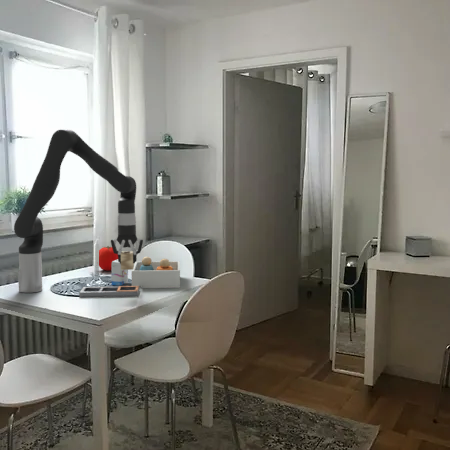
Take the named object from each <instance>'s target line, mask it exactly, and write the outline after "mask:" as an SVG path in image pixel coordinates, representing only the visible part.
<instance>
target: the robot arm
mask: <svg viewBox="0 0 450 450" xmlns="http://www.w3.org/2000/svg"><path fill="white" fill-rule="evenodd" d="M68 152H70V153H72V154H74V155H75V156H78V157H80V158H81V160H83V161H84V162H85V164H87V166H88V167H89V168H90V169H91V170H92V171H93V172H94V173H96V174H97V175H98V176H99V177H101V178H102V179H103V180H105V181H106V182H108V183H109V185H111V187H113V188H114V189H115V190H116V191H117V192H119V193H120V196H119V197H120V198H119V199H118V202H117V237H116V238H115V239H111V240H110V244H111V245H110V246H111V247H112V248H113V252H114V253H115V254H118V262H120V264H121V252H122V251H123V249H124V248H130V249H131V251H133V263H134V264H135V262H137V260H138V259H137V258H138V257H137V255H138V254H141V251H142V248H143V243H144V239H143V238H138V237H137V226H136V225H137V220H136V219H137V217H136V210H135V209H136V204H135V202H136V201H135V200H136V197H137V196H136V194H137V183H136V182H137V181H136V180H135V178H133V177H132V176H129V175H128V176H127V175H125V174H123V173H122V172H120V171H119V169H118V168H117V167H116V166H115V165H114V164H113V163H111V162H110V161H108V160H107V159H106V158H105V157H103V156H102V155H101V154H99V153H98V152H96V151H95V150H94V149H93V148H92V147H90V145H89V144H87V142H85V141H84V140H83V138H81V136H79V134H77V132H75V131H74V130H72V129H67V128H65V129H64V128H63V129H61V128H60V129H58V130H56V131H54V133H53V134H52V135H51V139H50V141H49V144H48V147H47V151H46V155H45V157H44V160H43V162H42V164H41V166H40V168H39V170H38V173H37V175H36V178H35V180H34V182H33V185H32V187H31V189H30V192H29V194H28V196H27V198H26V201H25V203H24V205H23V207H22V209H21V211H20V213H19V214H18V216H17V218H16V220H15V221H14V225H13V231H14V234H15V235H16V236H17V237H18V238H19V239H20V238H21V239H24V240H23V242H22V243H21V244H20V245H19V246H18V264H19V265H18V266H19V270H18V271H17V272H18V273H17V278H18V279H17V280H18V293H26V294H30V293H37V292H41V291H43V271H42V270H43V266H42V263H43V262H42V247H43V244H44V226H43V225H44V224H43V222H42V220H41V218H40V217H38V216H39V213H40V211H42V209H43V208H44V207H45V206H46V205H47V204H48V203H49V202H50V200H51V199H52V198H53V197H54V195H55V193H56V191H57V188H58V186H59V184H60V180H61V168H62V167H61V166H62V163H63V161H64V159H65V157H66V155H67V153H68ZM117 242H118V244H119V245H120V246H119V248H118V250H117V246H116V244H117ZM136 243H137V244H138V249H136V247H135V244H136Z"/></svg>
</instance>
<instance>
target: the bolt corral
mask: <svg viewBox="0 0 450 450" xmlns="http://www.w3.org/2000/svg"><path fill="white" fill-rule="evenodd" d="M169 262H170V265H169V266H171V267H172V268H173V270H156V269H157V267H159V266H160V261H152V262H151V264H150V265H152V266H153V269H154V270H145V271H140V267H141V265H143V264H142V261H136V262H135V263H134V268H133V270H131V286H139V287H141V289H165V288H166V289H171V288H174V289H175V288H177V289H178V288H179V289H180V288H181V263H180V262H181V261H179V260H177V261H176V260H175V261H174V260H173V261H170V260H169Z"/></svg>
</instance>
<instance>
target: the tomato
mask: <svg viewBox="0 0 450 450" xmlns="http://www.w3.org/2000/svg"><path fill="white" fill-rule="evenodd" d="M98 251H99V265H98V266H99V268H100V269H101V270H102V271H112V261H115V260H117V259H118V254H115V253H114V252H113V248H112V246H109V245H107V246H102V248H100V249H99V250H98Z"/></svg>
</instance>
